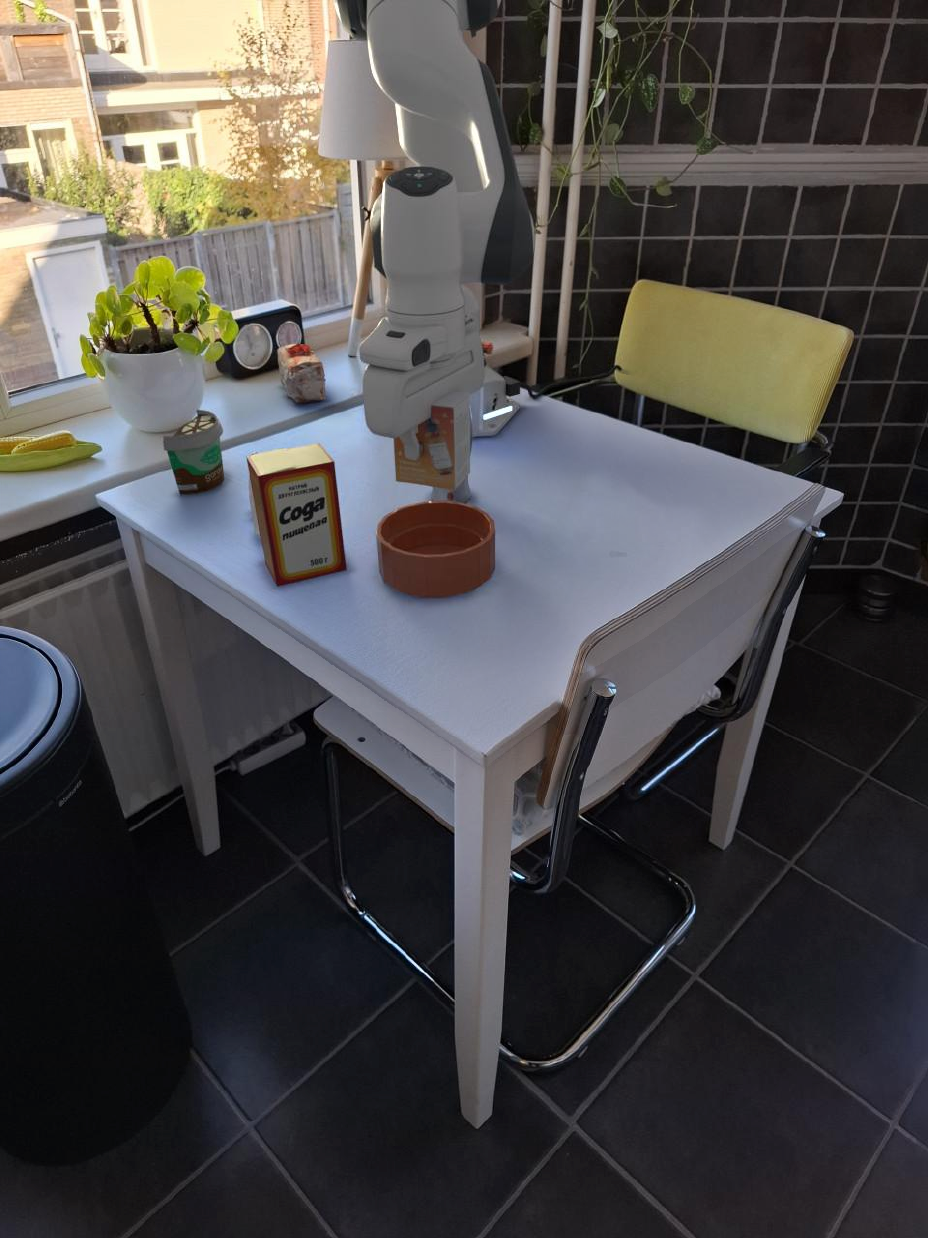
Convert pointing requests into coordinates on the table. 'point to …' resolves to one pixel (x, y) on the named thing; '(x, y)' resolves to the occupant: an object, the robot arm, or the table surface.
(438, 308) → the robot arm
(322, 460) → the baking soda box
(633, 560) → the table surface
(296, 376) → the food item
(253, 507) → the shaker set
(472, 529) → the bowl
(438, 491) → the beer glass
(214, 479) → the food container
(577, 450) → the table surface
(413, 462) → the small box
